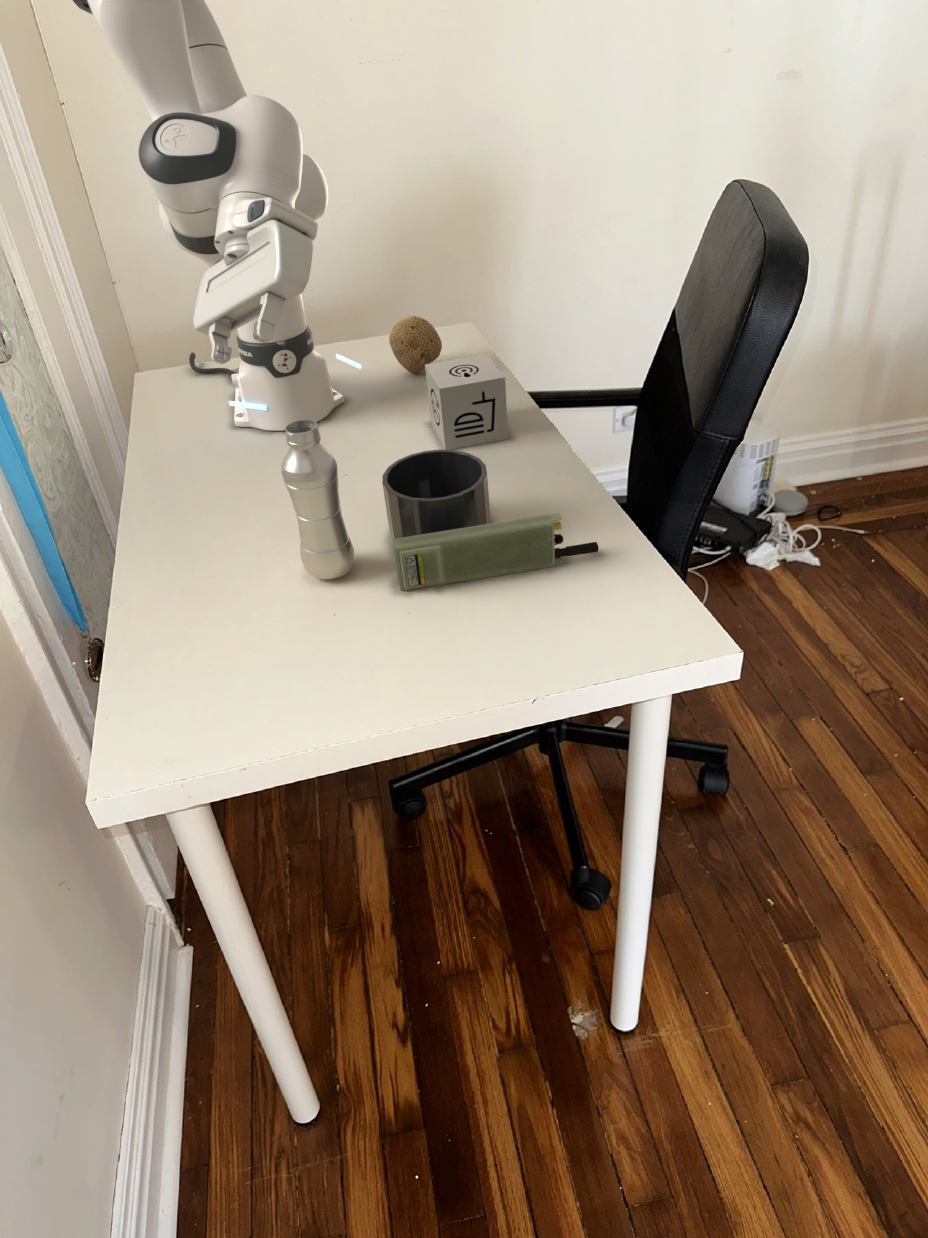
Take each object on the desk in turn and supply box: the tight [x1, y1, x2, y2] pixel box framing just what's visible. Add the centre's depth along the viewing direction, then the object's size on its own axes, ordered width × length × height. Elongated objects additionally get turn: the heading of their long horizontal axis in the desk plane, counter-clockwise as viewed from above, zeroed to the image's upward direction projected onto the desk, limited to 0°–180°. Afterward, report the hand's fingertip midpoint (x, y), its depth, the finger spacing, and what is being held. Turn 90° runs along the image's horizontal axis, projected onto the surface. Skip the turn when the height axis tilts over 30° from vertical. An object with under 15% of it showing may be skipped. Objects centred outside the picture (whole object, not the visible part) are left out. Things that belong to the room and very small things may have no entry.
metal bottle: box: [280, 420, 355, 580], centre depth 110 cm, size 6×7×20 cm
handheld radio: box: [392, 512, 599, 592], centre depth 111 cm, size 7×3×25 cm
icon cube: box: [424, 353, 509, 450], centre depth 142 cm, size 10×10×10 cm
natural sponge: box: [388, 315, 443, 375], centre depth 162 cm, size 9×9×10 cm
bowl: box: [381, 449, 492, 545], centre depth 118 cm, size 13×13×9 cm
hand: (240, 350), depth 104 cm, fingers open, 8 cm apart
